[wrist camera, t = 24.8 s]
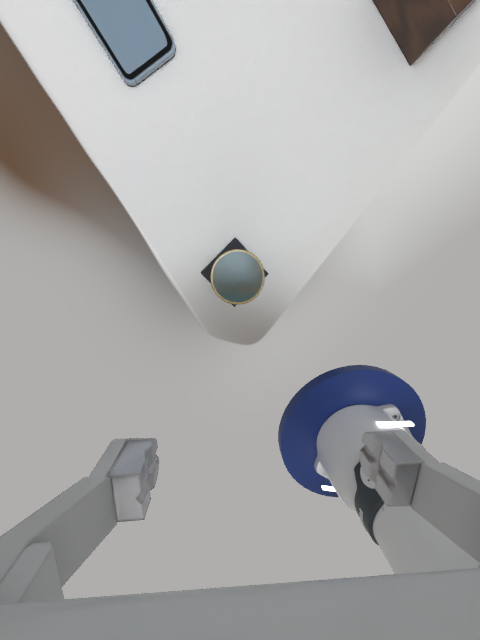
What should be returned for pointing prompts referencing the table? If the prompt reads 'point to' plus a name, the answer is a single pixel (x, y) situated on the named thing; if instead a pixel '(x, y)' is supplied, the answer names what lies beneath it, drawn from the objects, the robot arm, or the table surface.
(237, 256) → the tea tin
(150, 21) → the smartphone
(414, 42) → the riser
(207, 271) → the coaster
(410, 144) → the table surface
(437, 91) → the table surface
